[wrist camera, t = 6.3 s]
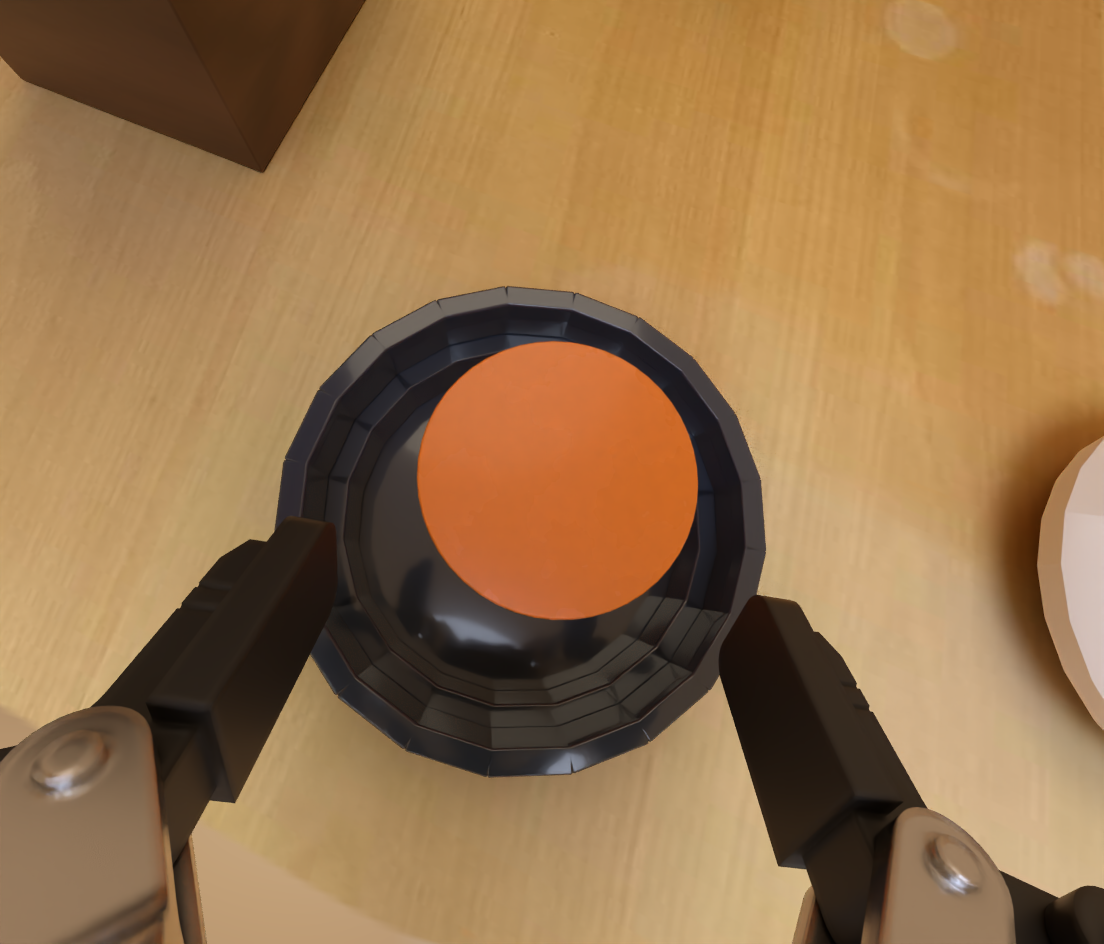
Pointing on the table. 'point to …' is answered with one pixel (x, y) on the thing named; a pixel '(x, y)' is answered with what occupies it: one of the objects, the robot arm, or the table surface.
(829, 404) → the table surface
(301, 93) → the stand
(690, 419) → the pot
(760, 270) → the table surface
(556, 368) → the orange can
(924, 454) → the table surface
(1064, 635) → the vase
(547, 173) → the table surface
